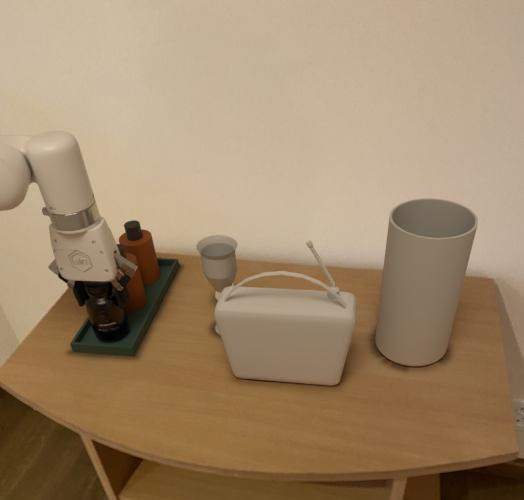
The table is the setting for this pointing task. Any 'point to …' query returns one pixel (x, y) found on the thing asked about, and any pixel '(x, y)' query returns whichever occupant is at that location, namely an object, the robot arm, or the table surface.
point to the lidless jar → (218, 294)
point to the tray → (130, 318)
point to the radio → (287, 330)
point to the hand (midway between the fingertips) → (104, 302)
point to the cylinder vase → (423, 278)
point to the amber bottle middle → (133, 285)
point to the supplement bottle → (105, 312)
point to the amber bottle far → (141, 251)
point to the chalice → (218, 261)
